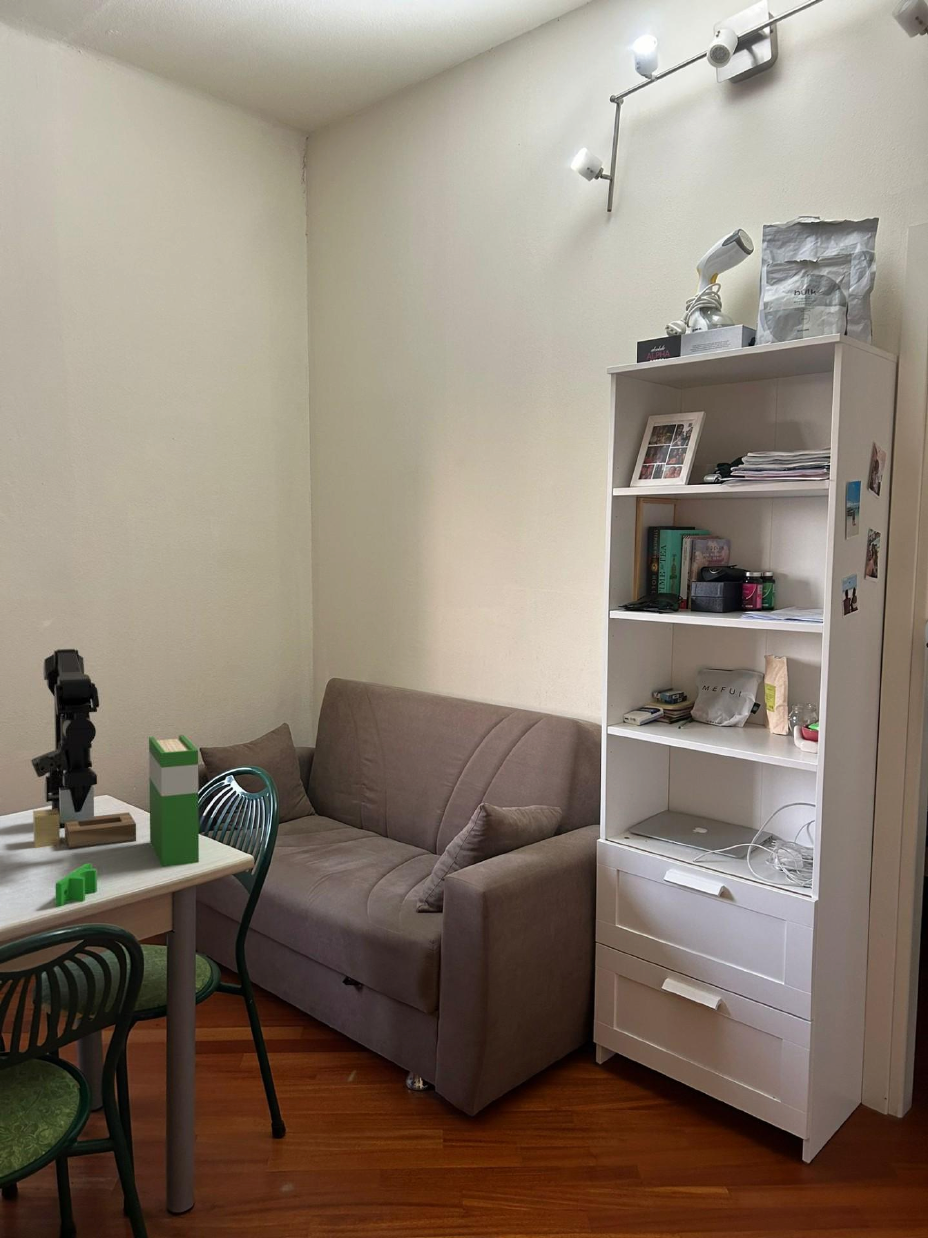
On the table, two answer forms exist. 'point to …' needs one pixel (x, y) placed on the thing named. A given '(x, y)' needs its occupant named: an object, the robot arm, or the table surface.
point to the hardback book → (174, 801)
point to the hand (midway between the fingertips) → (76, 810)
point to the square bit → (46, 828)
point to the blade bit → (68, 809)
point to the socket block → (101, 831)
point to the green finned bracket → (76, 885)
